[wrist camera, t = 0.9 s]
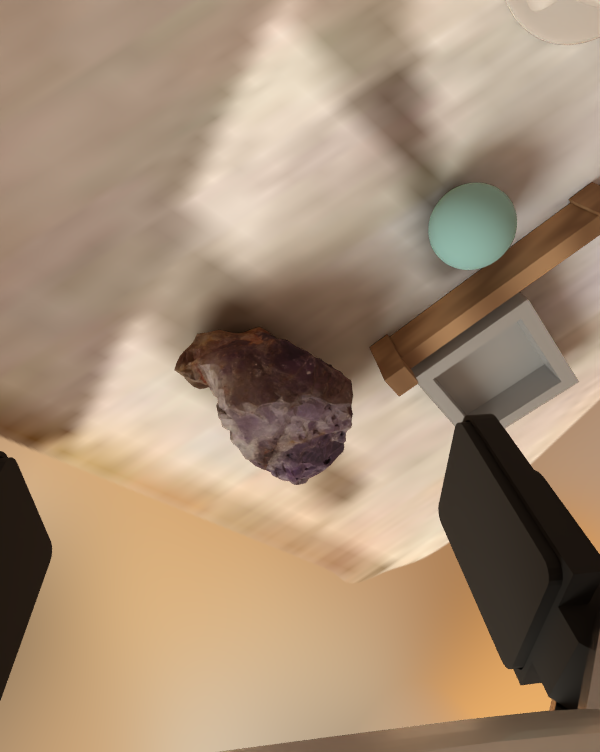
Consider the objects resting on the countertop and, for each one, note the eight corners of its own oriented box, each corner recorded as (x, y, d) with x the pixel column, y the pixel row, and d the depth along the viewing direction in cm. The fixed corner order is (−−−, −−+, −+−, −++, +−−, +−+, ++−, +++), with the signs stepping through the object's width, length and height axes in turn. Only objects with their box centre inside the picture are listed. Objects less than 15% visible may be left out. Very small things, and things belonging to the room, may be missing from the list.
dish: (507, 281, 35) (528, 299, 32) (557, 360, 39) (579, 381, 37) (401, 357, 37) (413, 379, 35) (459, 424, 42) (473, 447, 39)
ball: (471, 156, 30) (509, 173, 26) (507, 218, 32) (547, 244, 28) (402, 212, 31) (428, 237, 27) (442, 268, 34) (471, 299, 30)
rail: (591, 182, 32) (638, 199, 28) (601, 204, 33) (648, 223, 29) (369, 347, 37) (384, 380, 33) (383, 362, 38) (399, 396, 34)
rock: (262, 430, 42) (364, 366, 39) (277, 519, 35) (400, 450, 33) (158, 349, 34) (275, 263, 32) (154, 443, 28) (299, 346, 25)
